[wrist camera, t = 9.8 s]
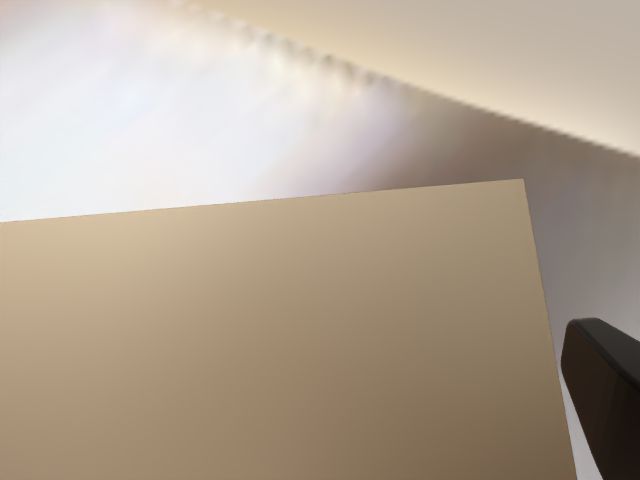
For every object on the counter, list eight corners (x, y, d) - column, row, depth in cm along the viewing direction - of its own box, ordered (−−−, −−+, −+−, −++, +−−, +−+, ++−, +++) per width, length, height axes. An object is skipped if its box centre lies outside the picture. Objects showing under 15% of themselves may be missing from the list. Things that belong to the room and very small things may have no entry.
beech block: (406, 515, 16) (668, 986, 3) (225, 529, 16) (-186, 1051, 3) (386, 333, 17) (524, 178, 5) (219, 347, 17) (-99, 231, 5)
